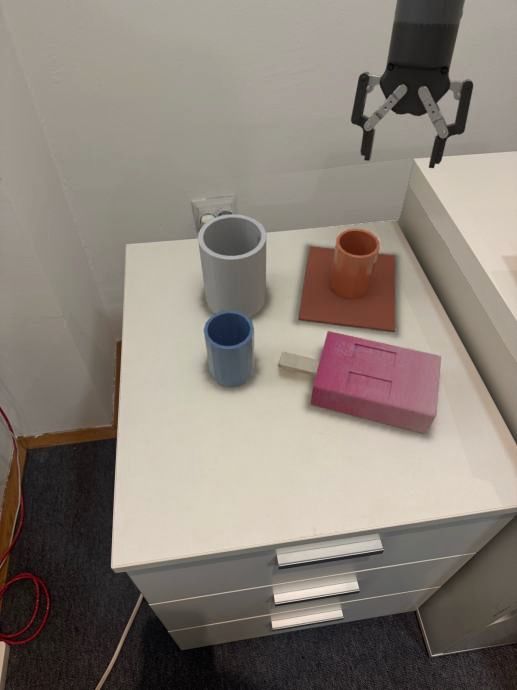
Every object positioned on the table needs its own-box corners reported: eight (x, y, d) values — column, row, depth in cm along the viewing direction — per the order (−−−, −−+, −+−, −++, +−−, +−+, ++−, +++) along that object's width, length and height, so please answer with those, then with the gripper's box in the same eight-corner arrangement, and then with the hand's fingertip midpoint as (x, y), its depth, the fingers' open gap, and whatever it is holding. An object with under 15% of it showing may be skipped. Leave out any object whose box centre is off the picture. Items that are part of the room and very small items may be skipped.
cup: (193, 301, 74) (184, 240, 64) (231, 268, 78) (227, 206, 69) (241, 329, 71) (238, 269, 61) (277, 292, 75) (279, 231, 65)
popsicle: (270, 395, 64) (425, 434, 60) (271, 375, 60) (436, 415, 57) (287, 342, 69) (431, 375, 66) (289, 320, 65) (441, 354, 62)
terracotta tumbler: (369, 273, 77) (380, 231, 70) (368, 301, 73) (379, 259, 67) (331, 269, 78) (337, 226, 71) (328, 296, 74) (334, 254, 67)
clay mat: (394, 257, 80) (394, 255, 79) (394, 332, 70) (395, 330, 70) (309, 247, 81) (309, 246, 81) (298, 320, 72) (298, 318, 71)
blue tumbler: (257, 353, 68) (257, 313, 61) (249, 389, 64) (248, 351, 58) (215, 347, 69) (210, 307, 62) (205, 383, 65) (198, 345, 58)
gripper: (361, 16, 55) (342, 163, 65) (494, 22, 52) (454, 176, 61) (369, 17, 61) (351, 151, 71) (489, 22, 58) (453, 162, 67)
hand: (399, 163), depth 66 cm, fingers open, 8 cm apart
